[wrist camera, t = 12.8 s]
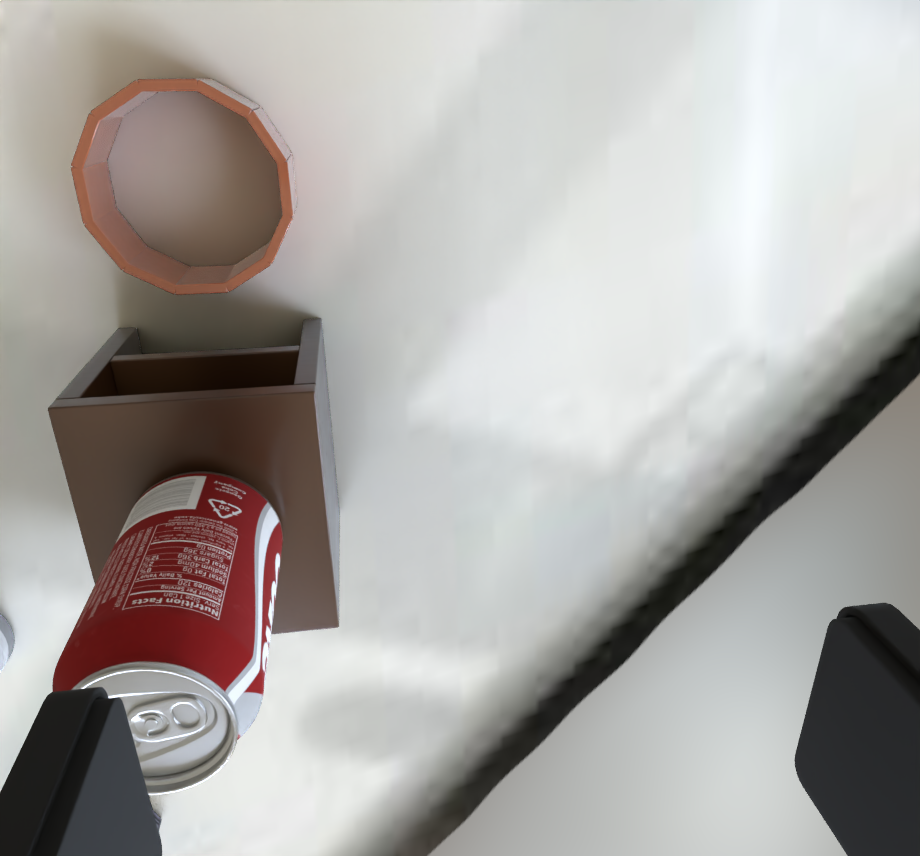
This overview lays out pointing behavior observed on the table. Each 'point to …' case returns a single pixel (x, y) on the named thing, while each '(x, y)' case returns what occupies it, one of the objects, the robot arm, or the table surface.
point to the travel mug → (5, 641)
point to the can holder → (119, 233)
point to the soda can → (183, 624)
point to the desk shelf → (211, 449)
